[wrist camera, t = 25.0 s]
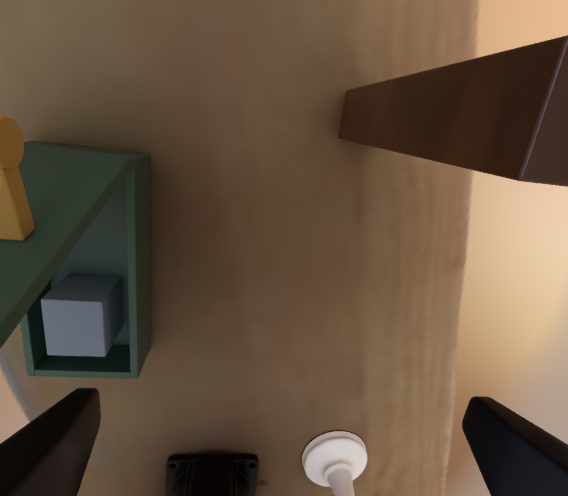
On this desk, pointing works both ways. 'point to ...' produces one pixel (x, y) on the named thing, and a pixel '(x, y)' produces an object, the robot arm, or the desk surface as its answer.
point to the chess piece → (335, 461)
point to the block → (83, 315)
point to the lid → (44, 213)
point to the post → (474, 114)
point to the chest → (105, 262)
